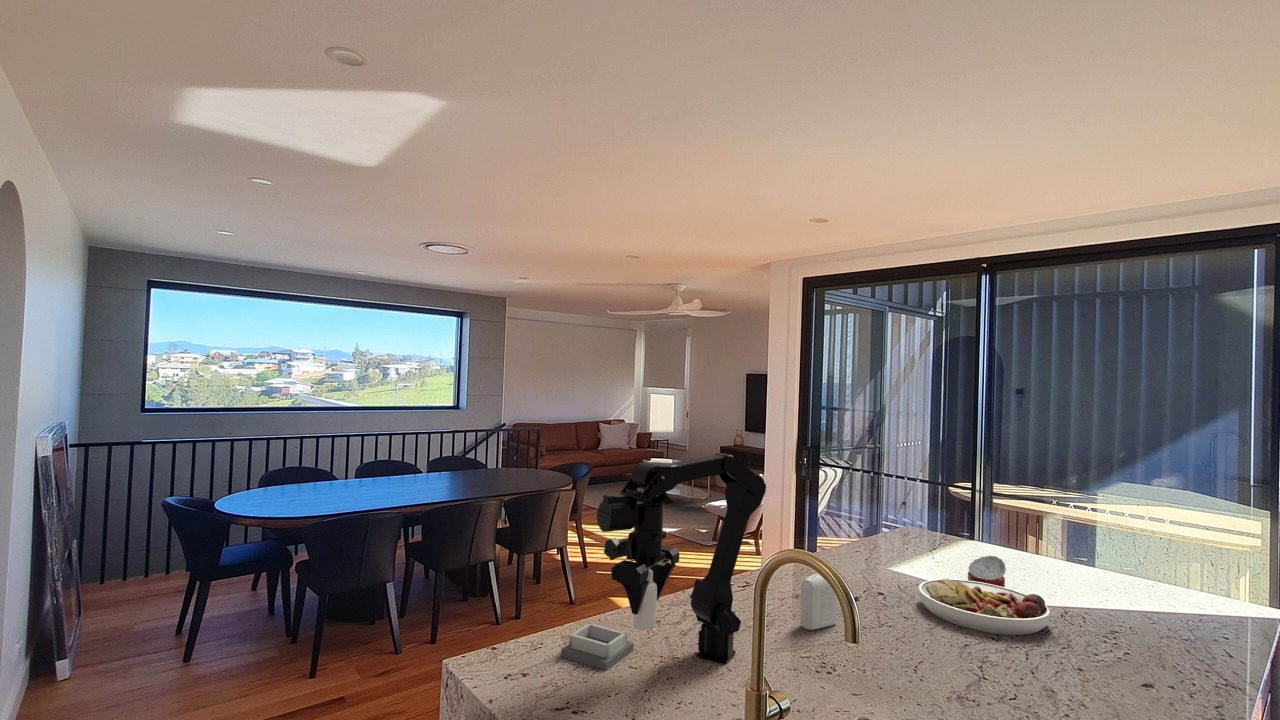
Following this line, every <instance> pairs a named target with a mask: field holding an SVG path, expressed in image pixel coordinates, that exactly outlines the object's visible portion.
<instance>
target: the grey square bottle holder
mask: <svg viewBox="0 0 1280 720" xmlns="http://www.w3.org/2000/svg"><path fill="white" fill-rule="evenodd" d="M568 638H569V639H568V644H567V645H566V646H564V647H563V648H561V649H560V650H561V651H560V657H562V658H563V659H566V660H567V659H568V660H571V661H574V662H577V663H580V664H584V665H587V666H591V667H593V668H597V669H600V670H604V671H608V670H609V669H610V668H612V667H613V666H614V665H616V664H617V663H619V662H620V661H622V660H623V659H624V658H625V657H626V656H628V655H629V654H630V653H632V652H634V648H635V647H634V642H630V641H628V632H624V631H621V630H616V629H613V628H609V627H606V626H601V625H599V624H594V623H590V622H589V623H586V625H584V626H582V627H581V628H579V629H577V630H574V632H572V633H569V636H568Z"/></svg>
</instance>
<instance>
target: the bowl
mask: <svg viewBox="0 0 1280 720" xmlns="http://www.w3.org/2000/svg"><path fill="white" fill-rule="evenodd" d="M917 589H918V591H917V592H918V597H919V599H920V601H921V603H922V604H923V606H924V607H925V609H927V610H928V611H929V612H930V613H932V614H933V615H935V616H936V617H938V618H940V619H941V620H944V621H946V622H949V623H951V624H954V625H957V626H960V627H963V628H967V629H968V630H969V629H970V630H972V631H973V630H974V631H978V632H983V633H988V634H995V635H996V634H997V635H1004V636H1005V635H1006V636H1023V635H1024V636H1025V635H1030V634H1031V635H1032V634H1035V633H1038V632H1039V631H1042V630H1043V629H1044V628H1046V626H1047V625H1048V624H1049V622H1050V619H1051V610H1050V608H1049V606H1048V605H1046V601H1045V599H1044V598H1043V597H1042V596H1040V595H1038V594H1035V593H1031V594H1026V593H1023V592H1020V591H1018V590H1015V589H1011V588H1008V587H1006V586H1005V587H1001V586H996V585H992V584H987V583H982V582H975V581H968V579H956V578H954V579H953V578H940V579H936V578H935V579H930V580H926V581H923V582H921V583H920V584H919V585H918V588H917Z"/></svg>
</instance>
